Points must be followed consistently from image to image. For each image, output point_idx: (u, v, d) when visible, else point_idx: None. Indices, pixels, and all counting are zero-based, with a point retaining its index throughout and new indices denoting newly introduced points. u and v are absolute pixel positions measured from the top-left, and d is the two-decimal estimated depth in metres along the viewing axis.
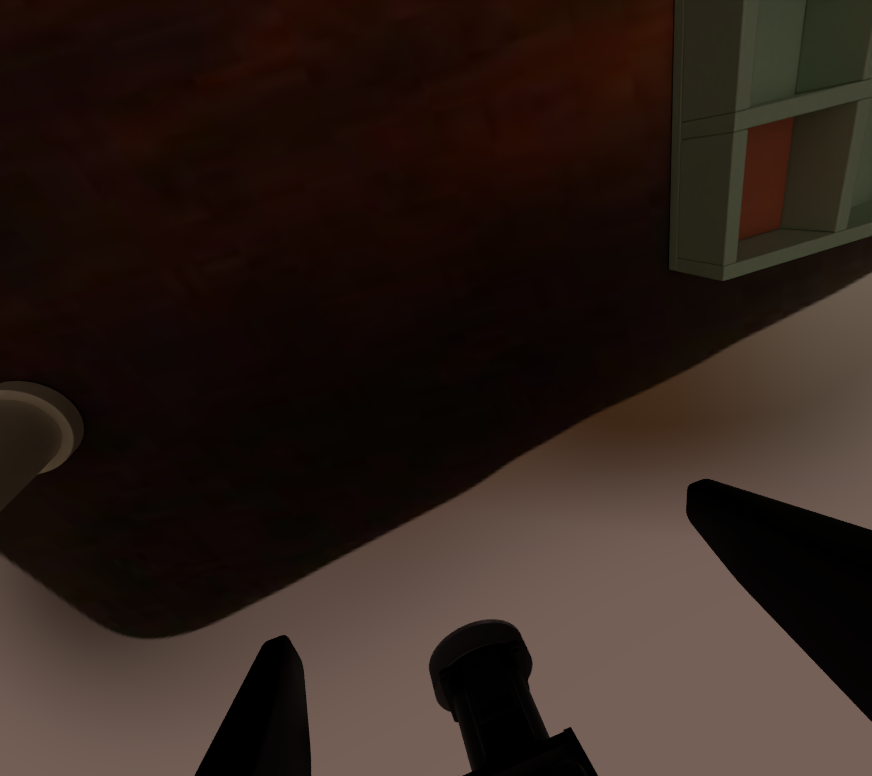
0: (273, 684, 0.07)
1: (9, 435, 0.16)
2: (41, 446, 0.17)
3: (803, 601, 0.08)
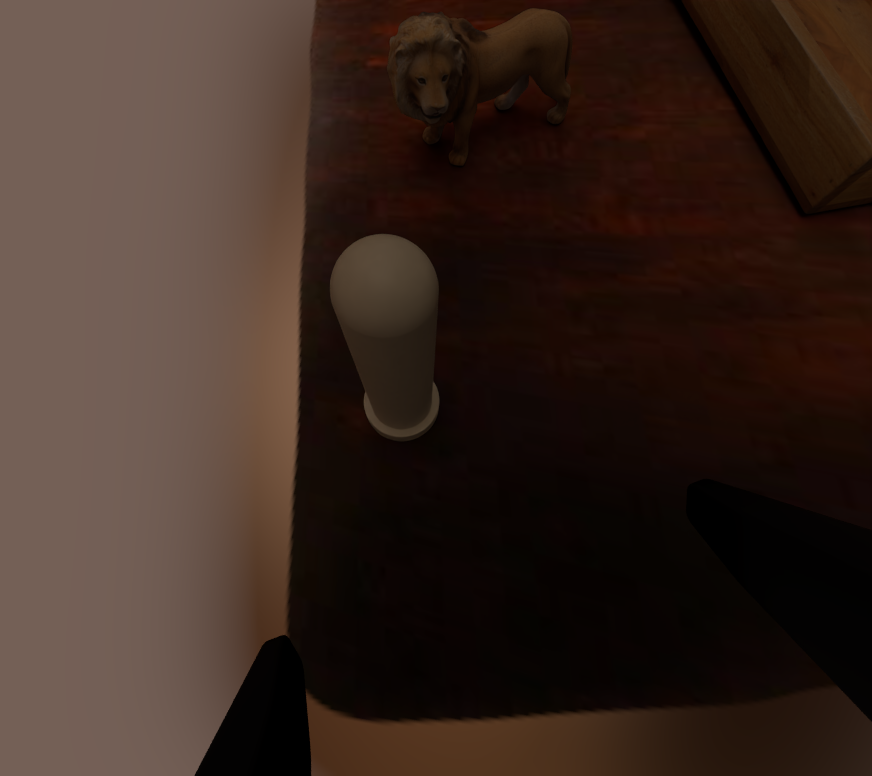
0: (273, 684, 0.07)
1: None
2: (429, 402, 0.22)
3: (803, 601, 0.08)
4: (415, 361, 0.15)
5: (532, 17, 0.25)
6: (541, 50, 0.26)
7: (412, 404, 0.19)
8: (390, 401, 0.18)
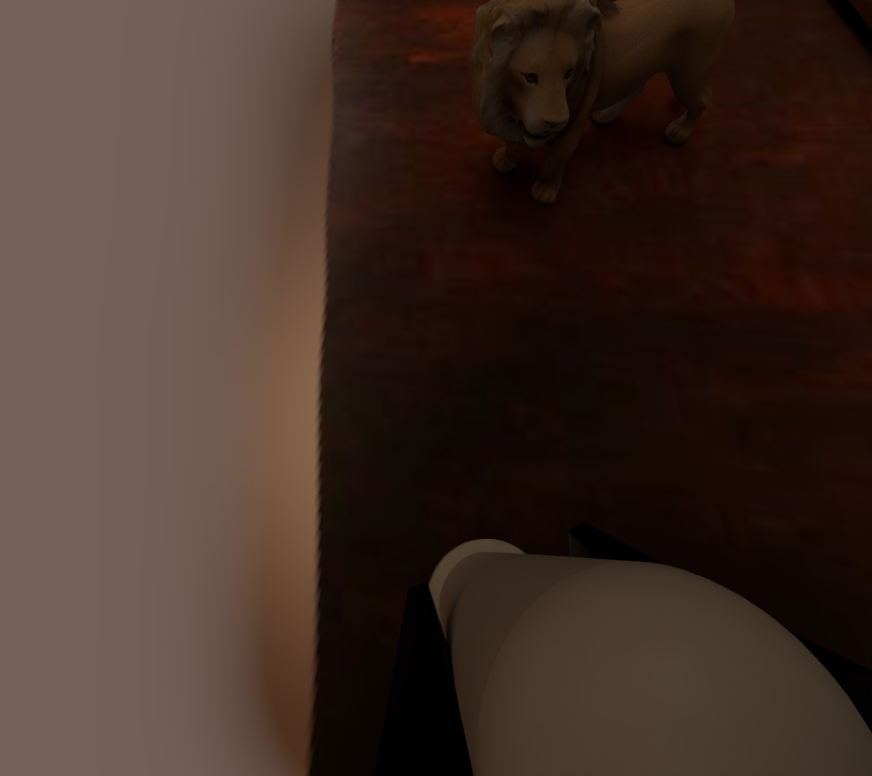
0: (436, 621, 0.08)
1: None
2: None
3: None
4: None
5: None
6: (696, 34, 0.17)
7: None
8: None
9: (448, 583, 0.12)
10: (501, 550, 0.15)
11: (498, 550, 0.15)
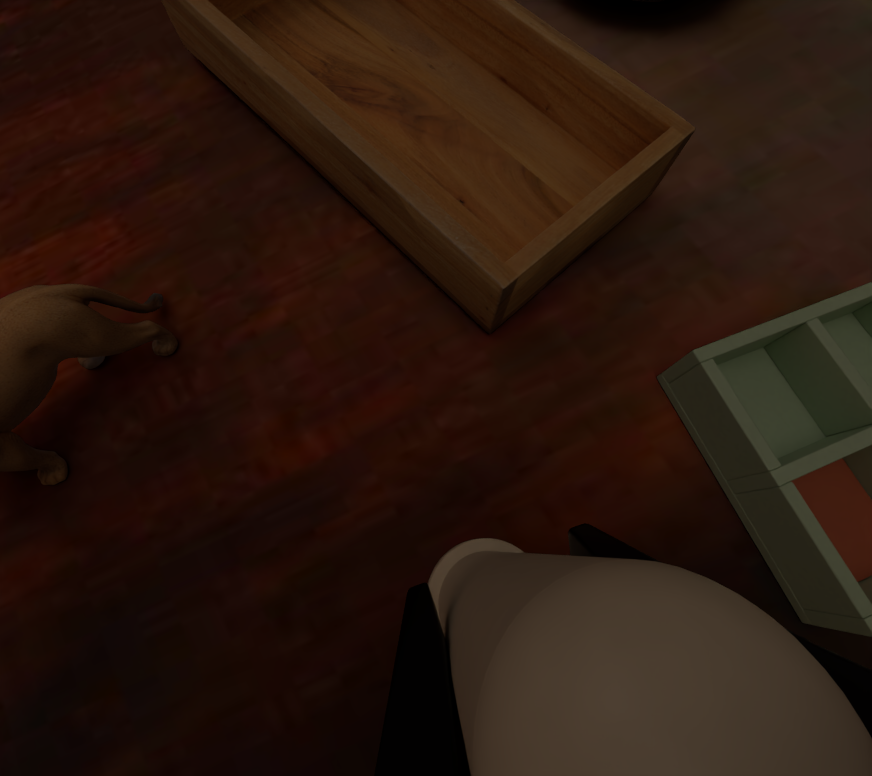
0: (435, 621, 0.08)
1: None
2: None
3: None
4: None
5: (0, 318, 0.17)
6: (48, 343, 0.18)
7: None
8: None
9: (447, 582, 0.12)
10: (500, 549, 0.15)
11: (497, 549, 0.15)
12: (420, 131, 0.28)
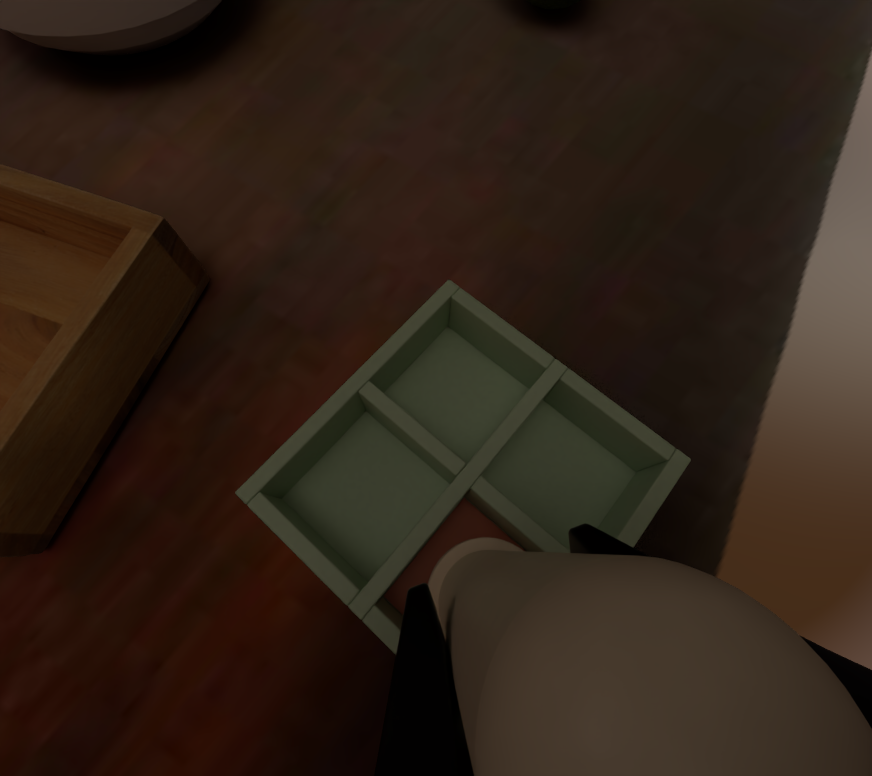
0: (435, 622, 0.08)
1: None
2: None
3: None
4: None
5: None
6: None
7: None
8: None
9: (447, 581, 0.12)
10: (500, 548, 0.15)
11: (497, 548, 0.15)
12: None
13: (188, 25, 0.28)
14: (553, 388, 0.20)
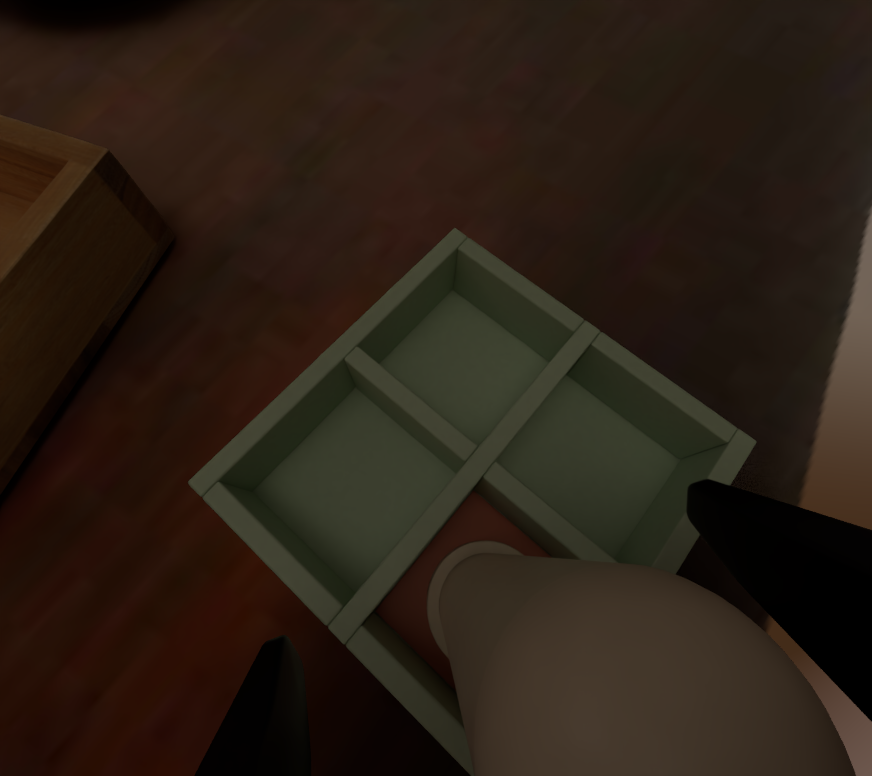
0: (273, 684, 0.07)
1: None
2: None
3: (803, 601, 0.08)
4: None
5: None
6: None
7: None
8: None
9: (448, 584, 0.13)
10: (500, 551, 0.15)
11: (497, 551, 0.15)
12: None
13: None
14: (581, 358, 0.17)
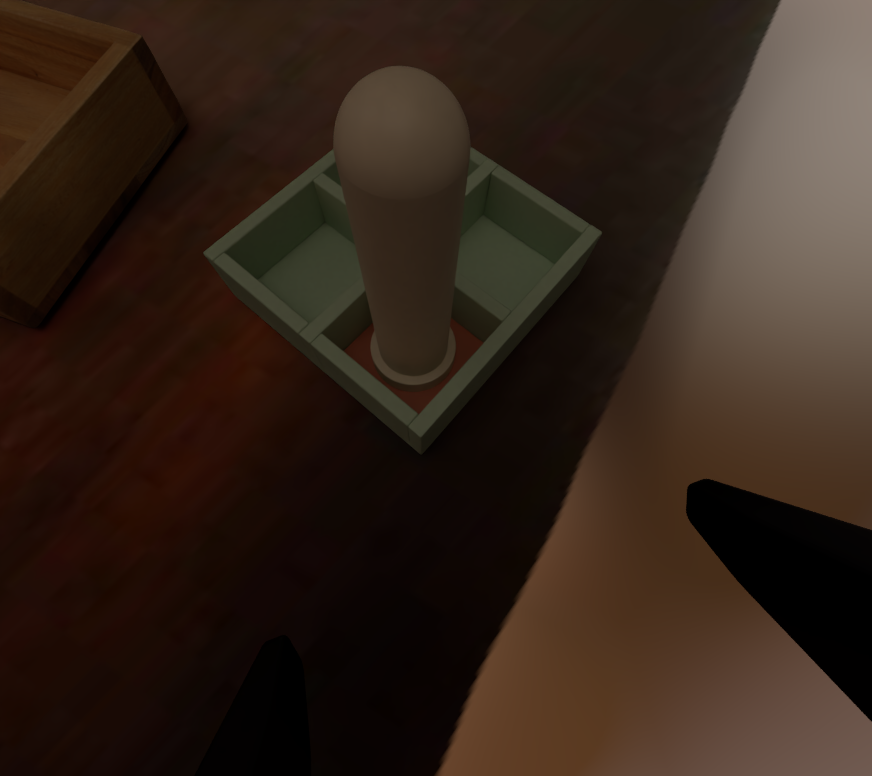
0: (273, 684, 0.07)
1: None
2: (446, 343, 0.19)
3: (803, 601, 0.08)
4: (437, 256, 0.12)
5: None
6: None
7: (428, 334, 0.16)
8: (403, 327, 0.16)
9: None
10: None
11: None
12: None
13: None
14: (488, 191, 0.23)
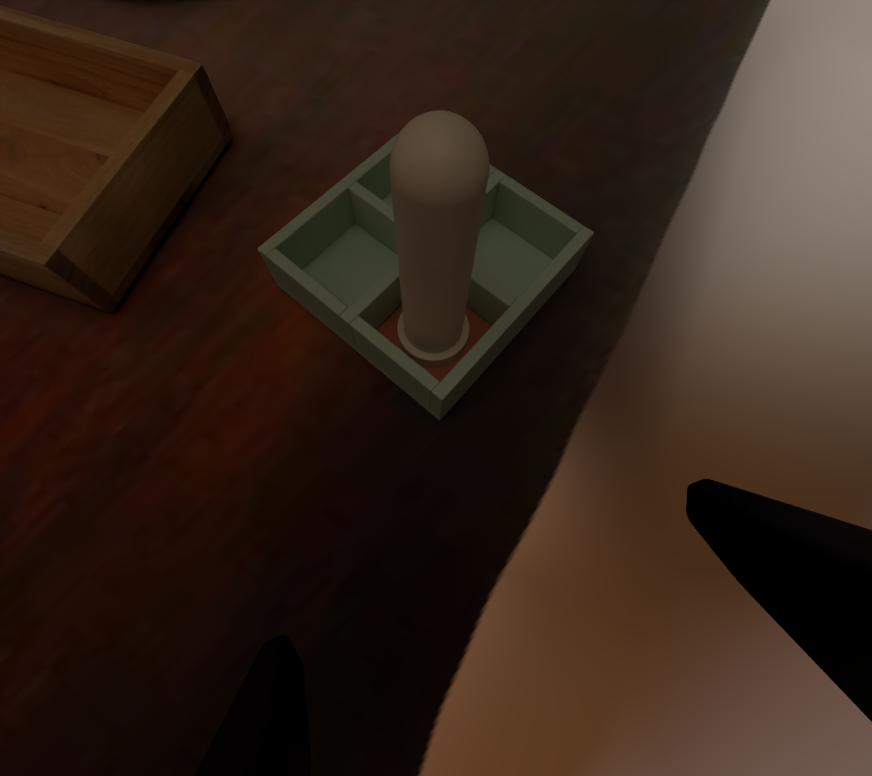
0: (273, 684, 0.07)
1: None
2: (462, 324, 0.23)
3: (803, 601, 0.08)
4: (461, 249, 0.16)
5: None
6: None
7: (449, 314, 0.20)
8: (430, 308, 0.19)
9: None
10: None
11: None
12: None
13: None
14: (497, 197, 0.27)
